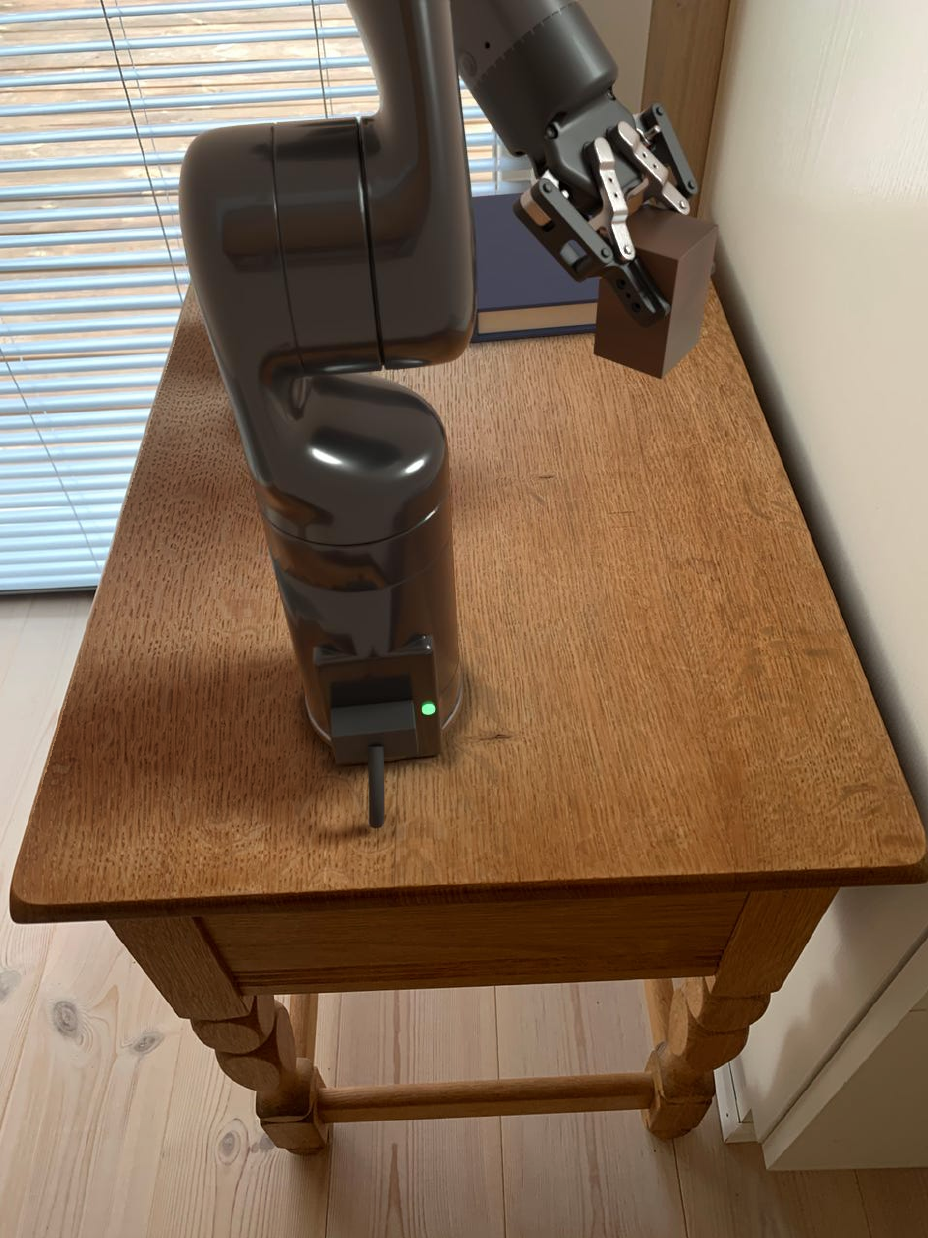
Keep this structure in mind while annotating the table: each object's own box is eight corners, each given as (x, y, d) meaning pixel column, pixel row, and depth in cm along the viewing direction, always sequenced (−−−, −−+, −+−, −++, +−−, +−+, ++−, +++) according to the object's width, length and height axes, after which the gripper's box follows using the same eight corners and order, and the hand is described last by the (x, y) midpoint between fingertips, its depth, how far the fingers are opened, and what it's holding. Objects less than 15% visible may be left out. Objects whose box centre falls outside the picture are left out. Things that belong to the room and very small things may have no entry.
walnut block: (661, 380, 61) (678, 260, 55) (592, 354, 64) (602, 236, 58) (699, 342, 64) (719, 224, 58) (632, 319, 66) (645, 202, 60)
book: (645, 327, 85) (649, 294, 83) (470, 342, 84) (469, 309, 82) (599, 217, 98) (601, 185, 96) (448, 230, 98) (446, 198, 95)
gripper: (484, 40, 49) (667, 328, 53) (630, -36, 57) (781, 221, 61) (409, 126, 55) (578, 378, 59) (550, 48, 63) (692, 276, 67)
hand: (680, 298), depth 60 cm, fingers closed on walnut block, 5 cm apart
